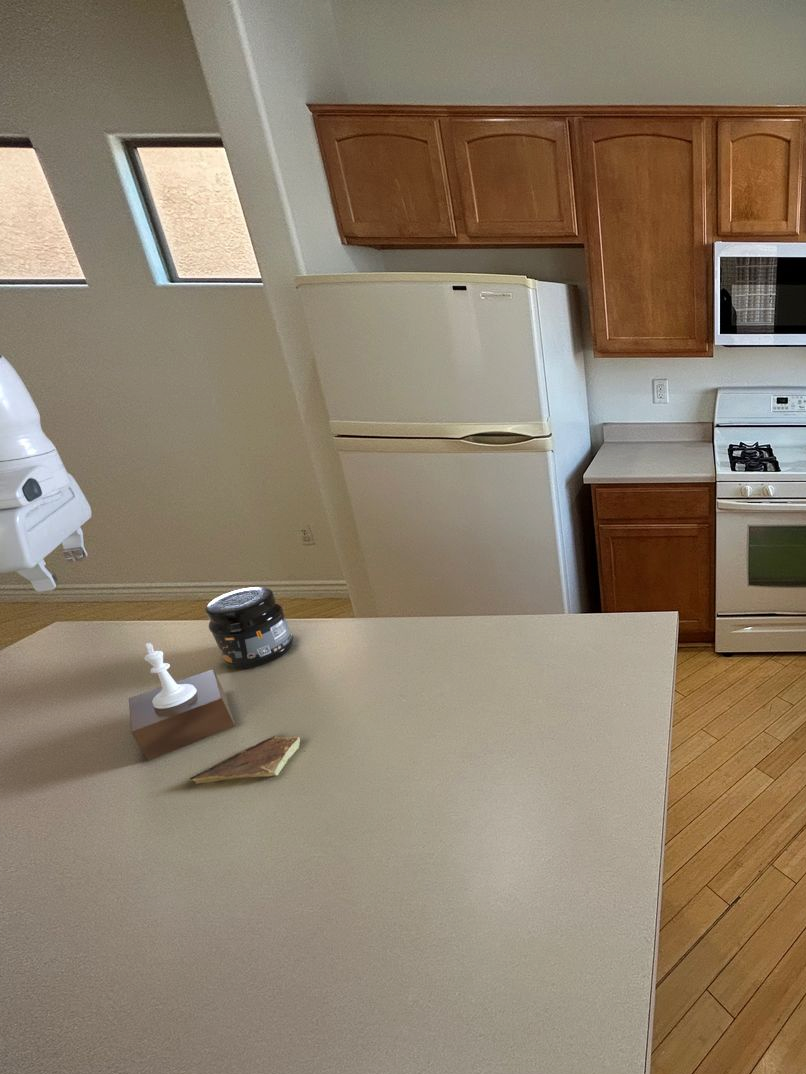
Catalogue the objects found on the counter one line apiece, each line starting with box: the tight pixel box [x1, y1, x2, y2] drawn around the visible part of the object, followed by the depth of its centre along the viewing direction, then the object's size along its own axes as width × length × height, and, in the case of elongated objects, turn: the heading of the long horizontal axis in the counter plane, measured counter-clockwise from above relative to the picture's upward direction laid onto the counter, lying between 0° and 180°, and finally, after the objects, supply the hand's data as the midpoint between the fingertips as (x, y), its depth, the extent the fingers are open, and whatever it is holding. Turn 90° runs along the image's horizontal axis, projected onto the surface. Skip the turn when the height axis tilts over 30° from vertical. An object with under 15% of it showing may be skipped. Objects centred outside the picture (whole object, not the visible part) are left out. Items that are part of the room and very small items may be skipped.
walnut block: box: [128, 668, 236, 762], centre depth 86 cm, size 10×10×6 cm
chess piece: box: [143, 642, 197, 709], centre depth 82 cm, size 5×5×10 cm
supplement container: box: [204, 586, 295, 670], centre depth 102 cm, size 10×10×12 cm
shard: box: [188, 735, 301, 784], centre depth 80 cm, size 11×8×2 cm
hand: (64, 573), depth 75 cm, fingers open, 8 cm apart
